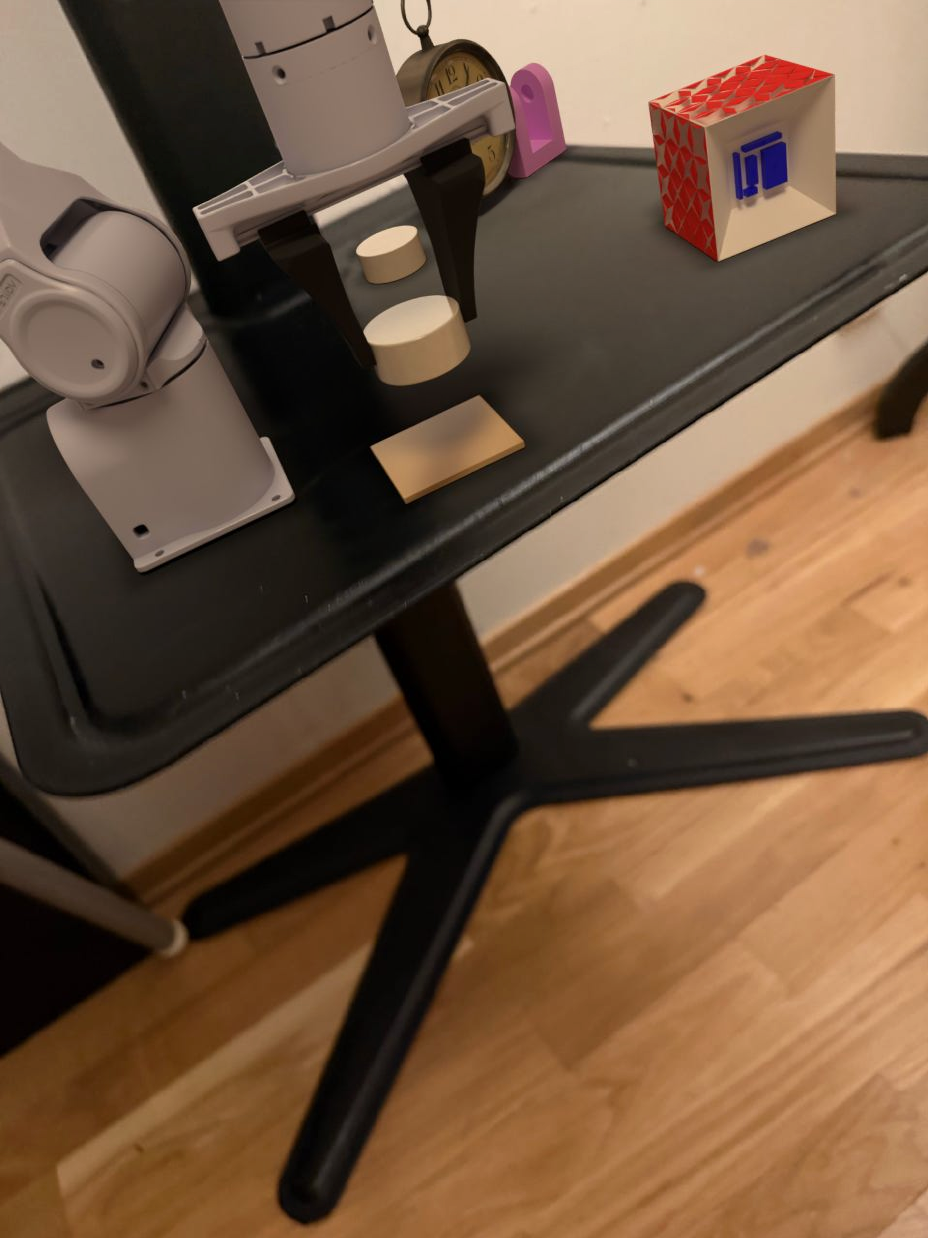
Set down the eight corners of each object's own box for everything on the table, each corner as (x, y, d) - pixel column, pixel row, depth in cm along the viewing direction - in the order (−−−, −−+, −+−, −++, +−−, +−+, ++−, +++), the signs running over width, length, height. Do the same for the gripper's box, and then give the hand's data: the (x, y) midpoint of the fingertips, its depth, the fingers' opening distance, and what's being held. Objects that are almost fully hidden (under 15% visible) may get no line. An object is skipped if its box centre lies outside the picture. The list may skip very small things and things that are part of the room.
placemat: (406, 504, 47) (403, 498, 46) (372, 451, 51) (369, 446, 51) (525, 447, 47) (523, 440, 47) (481, 400, 52) (479, 394, 52)
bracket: (566, 148, 79) (549, 60, 74) (526, 177, 76) (505, 88, 72) (463, 150, 87) (442, 71, 82) (424, 176, 85) (400, 96, 80)
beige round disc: (376, 290, 68) (365, 262, 67) (358, 272, 72) (348, 245, 71) (435, 263, 69) (426, 235, 67) (414, 246, 72) (405, 219, 71)
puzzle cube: (772, 182, 62) (764, 54, 56) (836, 213, 56) (835, 73, 50) (663, 226, 62) (646, 102, 56) (716, 262, 56) (702, 127, 50)
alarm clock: (458, 239, 71) (388, 2, 60) (409, 238, 74) (334, 14, 63) (534, 177, 76) (483, -52, 65) (485, 179, 79) (428, -38, 68)
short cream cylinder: (393, 397, 43) (378, 356, 42) (365, 363, 47) (350, 324, 46) (485, 355, 44) (473, 313, 42) (451, 324, 48) (438, 285, 46)
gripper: (436, -41, 40) (513, 256, 49) (133, 89, 38) (269, 369, 47) (497, -38, 34) (570, 294, 43) (147, 113, 33) (297, 422, 42)
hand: (416, 337), depth 45 cm, fingers closed on short cream cylinder, 5 cm apart
